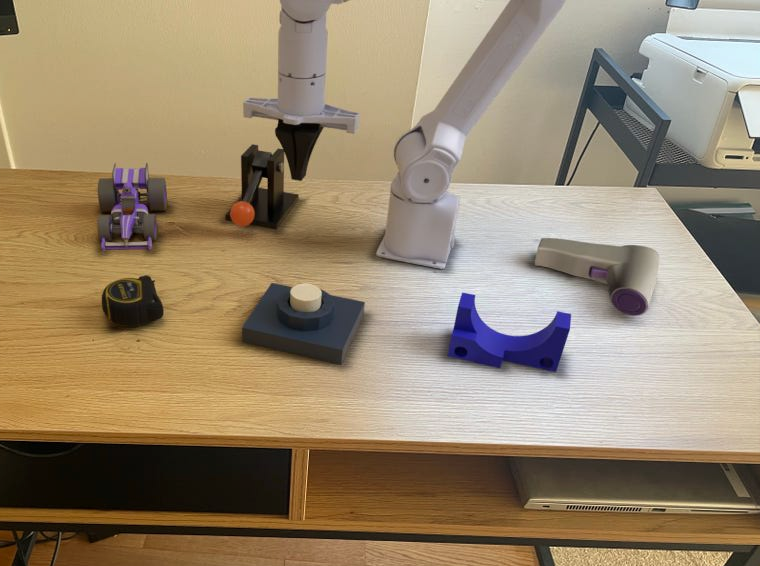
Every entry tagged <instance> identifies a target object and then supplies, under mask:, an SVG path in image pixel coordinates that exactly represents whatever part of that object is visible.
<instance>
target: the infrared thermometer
mask: <svg viewBox="0 0 760 566" xmlns="http://www.w3.org/2000/svg"><path fill="white" fill-rule="evenodd" d="M660 256H661V255H660V254H659V252H658V251H657V250H655V249H654V248H652V247H649V246H646V245H645V246H644V245H637V244H626V245H621V246H620V245H613V244H603V243H596V242H595V243H594V242H586V241H579V240H573V239H564V238H555V237H541V239H540V241H539V243H538V246H537V250H536V255H535V259H534V266H535V267H544V268H547V269H548V268H549V269H552V270H555V271H559V272H562V273H566V274H569V275H572V276H574V277H580V278H586V279H590V280H592V281H596V282H599V283H601V284H604V285H605V284H606V285H607V289H608V294H609V298H610V302H611V304H612V306H613V307H614V309H616V311H618V312H619V313H622V314H624V315H626V316H629V317H630V316H631V317H638V316H641V315H644V314H645V313H646V312H647V311H648V309H649V306H650V303H651V300H652V297H653V294H654V291H655V287H656V284H657V281H658V277H659V276H658V275H659V268H660V261H661V257H660Z"/></svg>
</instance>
